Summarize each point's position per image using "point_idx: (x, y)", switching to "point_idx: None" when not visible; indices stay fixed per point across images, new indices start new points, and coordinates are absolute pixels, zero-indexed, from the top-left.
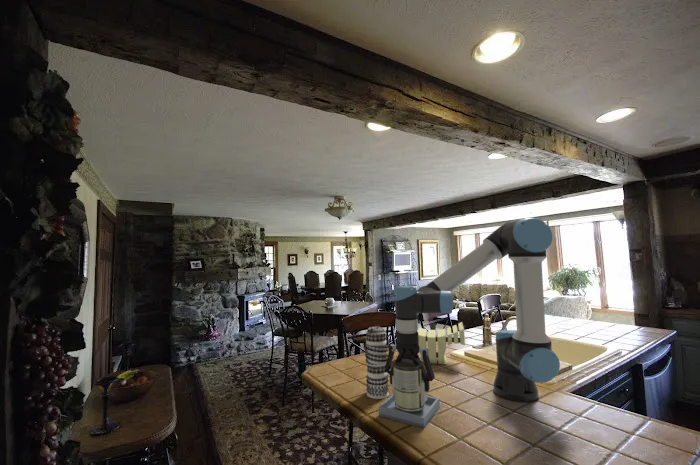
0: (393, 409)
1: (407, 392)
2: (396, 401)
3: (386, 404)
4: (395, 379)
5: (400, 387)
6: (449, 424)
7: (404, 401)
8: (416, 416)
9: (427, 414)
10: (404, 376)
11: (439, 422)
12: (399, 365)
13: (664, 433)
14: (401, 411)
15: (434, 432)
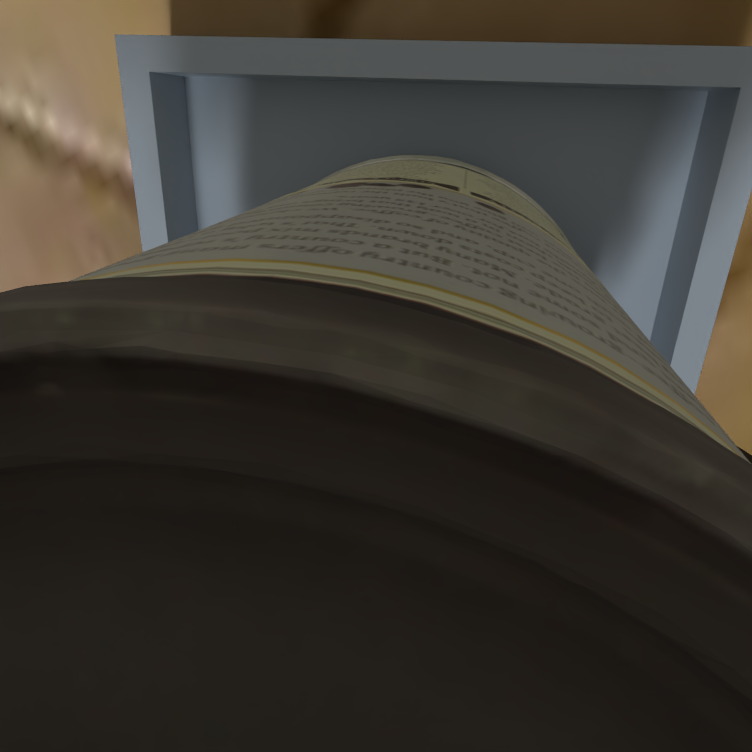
0: (544, 71)
1: (310, 188)
2: (542, 216)
3: (691, 235)
4: (614, 306)
5: (446, 194)
6: (29, 245)
7: (394, 165)
8: (207, 36)
9: (135, 170)
10: (257, 232)
11: (109, 240)
12: (501, 595)
13: None
14: (423, 73)
15: (62, 23)
